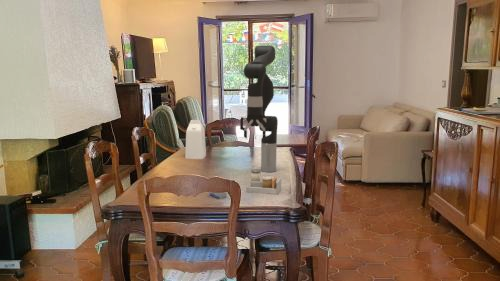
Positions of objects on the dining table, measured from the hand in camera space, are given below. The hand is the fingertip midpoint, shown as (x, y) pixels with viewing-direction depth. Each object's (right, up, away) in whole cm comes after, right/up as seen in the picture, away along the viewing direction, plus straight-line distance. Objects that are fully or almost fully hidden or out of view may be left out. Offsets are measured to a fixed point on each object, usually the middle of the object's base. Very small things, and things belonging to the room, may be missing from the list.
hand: (254, 138), depth 196 cm
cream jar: (+1, -24, +19) cm, 31 cm away
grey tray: (+5, -26, +6) cm, 27 cm away
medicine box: (-18, -28, -4) cm, 34 cm away
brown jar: (+6, -26, +6) cm, 28 cm away
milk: (-40, -13, +82) cm, 92 cm away
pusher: (+10, -26, +5) cm, 28 cm away
